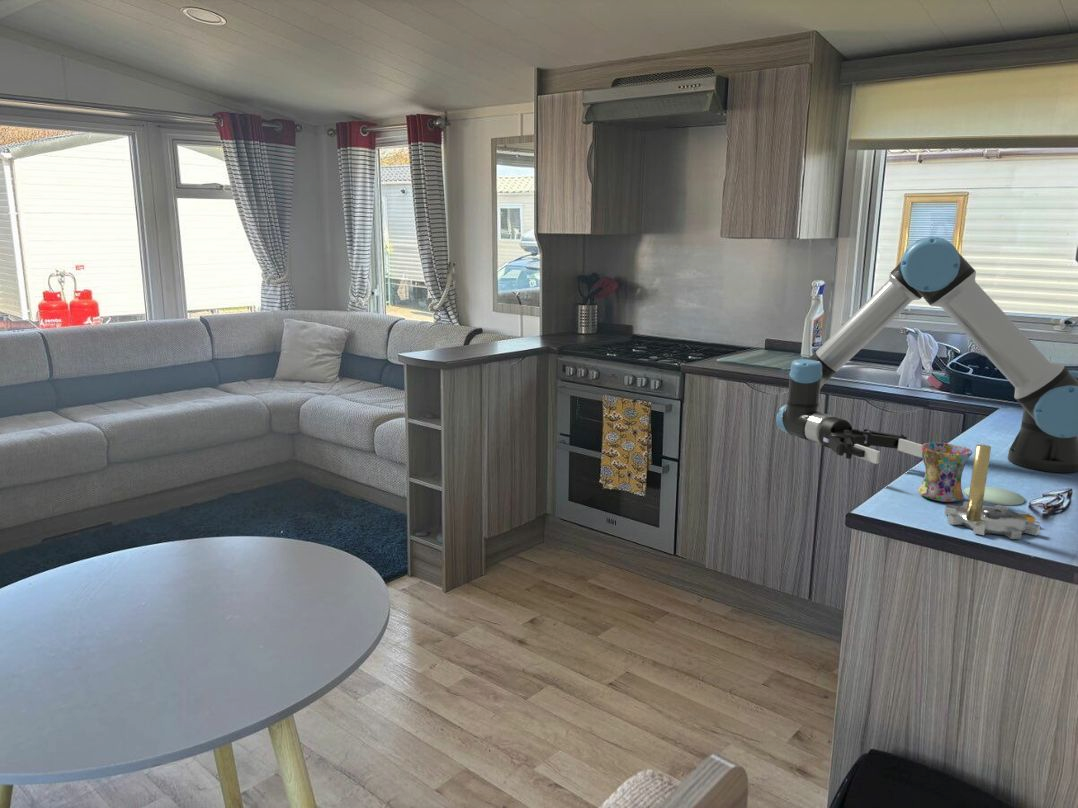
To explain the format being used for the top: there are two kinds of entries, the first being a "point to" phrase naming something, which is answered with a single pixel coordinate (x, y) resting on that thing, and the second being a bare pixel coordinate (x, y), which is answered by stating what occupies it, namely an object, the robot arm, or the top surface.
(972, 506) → the sprocket
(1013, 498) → the pale green plate
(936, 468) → the mug
